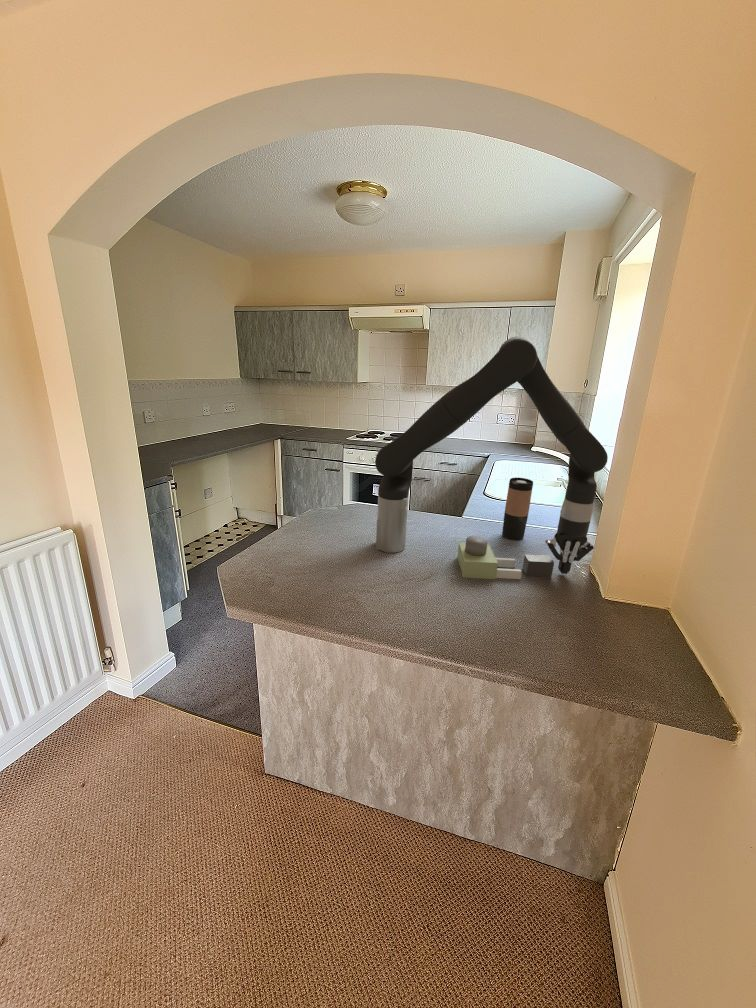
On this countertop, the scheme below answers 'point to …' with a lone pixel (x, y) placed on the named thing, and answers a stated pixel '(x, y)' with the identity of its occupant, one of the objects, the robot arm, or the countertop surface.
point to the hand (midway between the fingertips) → (563, 572)
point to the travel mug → (517, 508)
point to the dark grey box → (538, 566)
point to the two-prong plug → (484, 561)
